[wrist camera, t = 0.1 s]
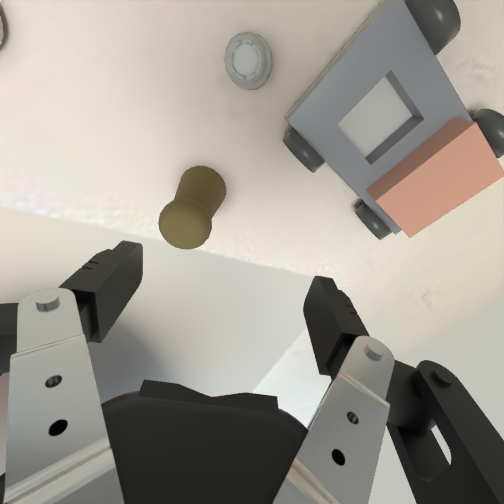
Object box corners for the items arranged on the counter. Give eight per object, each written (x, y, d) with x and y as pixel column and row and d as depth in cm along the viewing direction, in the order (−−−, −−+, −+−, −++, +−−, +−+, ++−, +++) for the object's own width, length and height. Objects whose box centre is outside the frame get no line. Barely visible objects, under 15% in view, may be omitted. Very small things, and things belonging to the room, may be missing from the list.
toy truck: (400, -20, 21) (441, -47, 16) (493, 145, 28) (540, 161, 24) (274, 128, 28) (277, 140, 23) (375, 230, 35) (393, 255, 31)
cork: (229, 171, 31) (216, 212, 22) (222, 214, 35) (209, 263, 26) (181, 160, 31) (148, 198, 22) (178, 204, 34) (149, 252, 25)
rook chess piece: (219, 44, 24) (204, 35, 18) (264, 24, 23) (265, 6, 17) (236, 96, 26) (228, 105, 20) (277, 79, 25) (282, 82, 19)
